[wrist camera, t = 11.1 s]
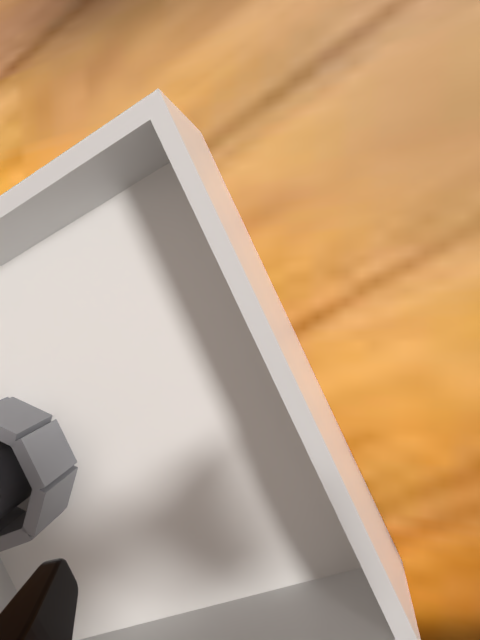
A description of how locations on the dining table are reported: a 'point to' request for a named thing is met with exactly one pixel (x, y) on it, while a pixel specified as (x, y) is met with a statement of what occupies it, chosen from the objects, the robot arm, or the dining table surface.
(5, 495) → the capped peg
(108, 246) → the walled box
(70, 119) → the dining table surface
